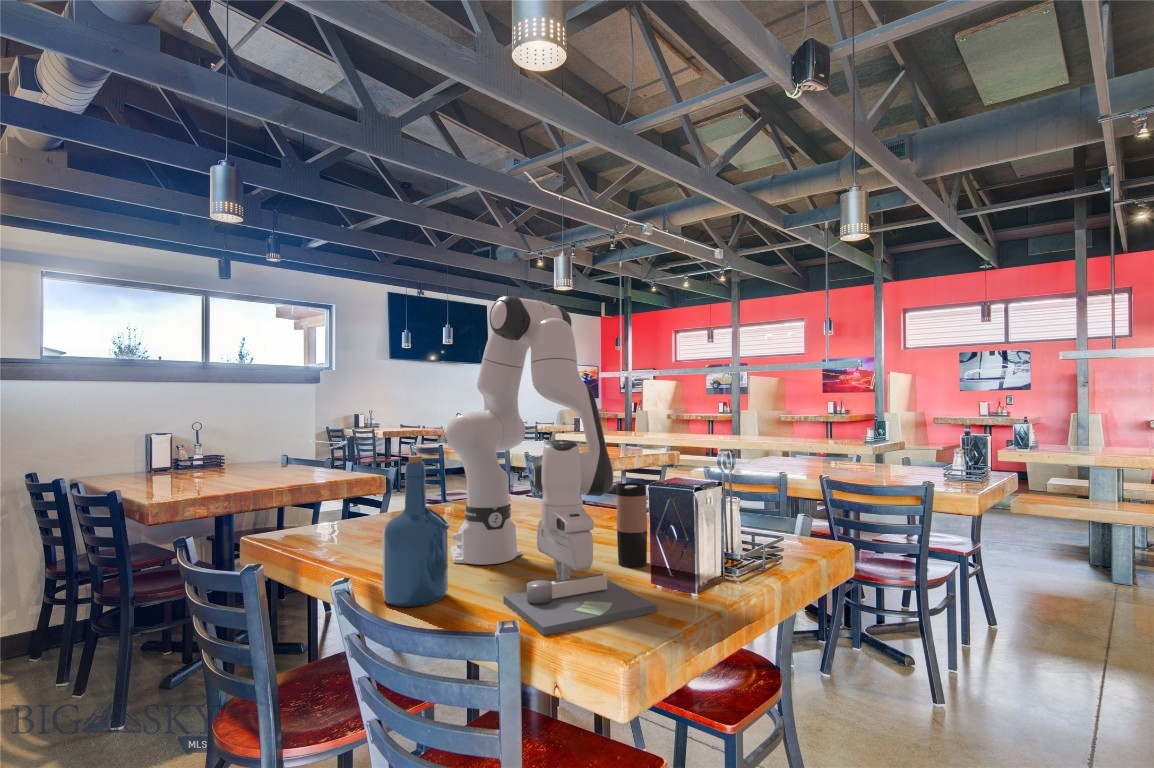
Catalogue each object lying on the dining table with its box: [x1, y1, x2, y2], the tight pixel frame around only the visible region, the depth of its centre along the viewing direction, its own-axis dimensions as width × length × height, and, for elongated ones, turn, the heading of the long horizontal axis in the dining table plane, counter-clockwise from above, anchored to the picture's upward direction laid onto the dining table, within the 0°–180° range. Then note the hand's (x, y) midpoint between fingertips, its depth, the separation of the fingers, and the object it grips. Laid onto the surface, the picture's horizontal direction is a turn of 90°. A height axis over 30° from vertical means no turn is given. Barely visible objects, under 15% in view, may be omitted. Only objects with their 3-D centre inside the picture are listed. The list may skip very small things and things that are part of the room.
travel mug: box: [616, 482, 648, 569], centre depth 150 cm, size 8×8×20 cm
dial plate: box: [502, 579, 658, 637], centre depth 117 cm, size 20×24×2 cm
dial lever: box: [526, 572, 608, 604], centre depth 120 cm, size 5×18×3 cm, turn 117°
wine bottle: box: [382, 455, 450, 608], centre depth 125 cm, size 14×13×30 cm
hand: (563, 581), depth 126 cm, fingers closed
